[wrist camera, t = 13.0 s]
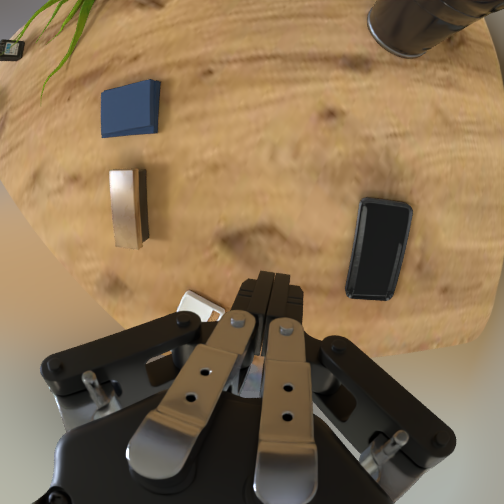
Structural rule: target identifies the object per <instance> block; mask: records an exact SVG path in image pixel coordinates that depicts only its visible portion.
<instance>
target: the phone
mask: <svg viewBox="0 0 504 504" xmlns="http://www.w3.org/2000/svg"><path fill="white" fill-rule="evenodd" d="M412 215H413V210H412V208H411V206H409V205H408V204H407V203H404V202H398V201H391V200H384V199H377V198H370V197H366V198H363V199H362V200H361V201H360V204H359V210H358V217H357V224H356V231H355V237H354V243H353V249H352V255H351V261H350V266H349V271H348V276H347V281H346V286H345V291H346V295H347V296H348V297H349V298H351V299H365V300H380V301H387V300H390V299H391V298H392V297H393V295H394V291H395V288H396V284H397V281H398V277H399V273H400V270H401V266H402V262H403V258H404V254H405V249H406V245H407V240H408V236H409V231H410V226H411V220H412Z"/></svg>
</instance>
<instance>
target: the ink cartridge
mask: <svg viewBox="0 0 504 504" xmlns="http://www.w3.org/2000/svg"><path fill="white" fill-rule="evenodd" d="M15 42H16V40H14V41H13V40H1V41H0V61H18V60H19V59H20V58H22V53H23V48H24V44H25V43H24V41H18V42H17V43H16V44H14V43H15ZM13 44H14V45H13ZM12 45H13V46H12ZM11 46H12V47H11ZM10 47H11V48H10ZM9 48H10V49H9ZM6 50H7V51H6ZM5 51H6V52H5ZM3 52H4V53H3ZM2 53H3V54H2Z"/></svg>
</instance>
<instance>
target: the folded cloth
mask: <svg viewBox="0 0 504 504" xmlns="http://www.w3.org/2000/svg"><path fill="white" fill-rule="evenodd" d="M160 84H161V82H160V81H154V80H151V79H149V80H144V81H140V82H136V83H133V84H129V85H125V86H122V87H118V88H113V89H109V90H104V92H102V93H101V135H102V138H108V137H117V136H127V135H139V134H153V133H158V112H159V96H160Z"/></svg>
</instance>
